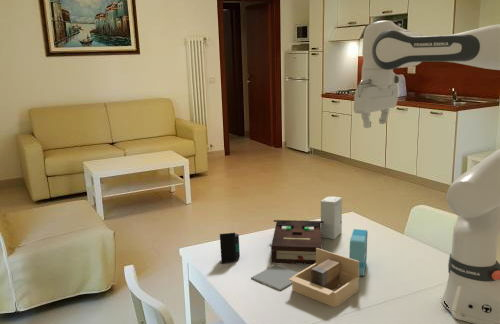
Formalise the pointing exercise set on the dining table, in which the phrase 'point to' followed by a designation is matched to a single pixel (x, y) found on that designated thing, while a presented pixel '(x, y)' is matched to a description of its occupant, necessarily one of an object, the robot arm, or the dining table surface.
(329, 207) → the skincare box
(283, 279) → the mat
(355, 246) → the blue rounded block
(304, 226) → the decorative book
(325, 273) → the box
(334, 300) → the drawer
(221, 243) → the speaker
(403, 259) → the dining table surface
